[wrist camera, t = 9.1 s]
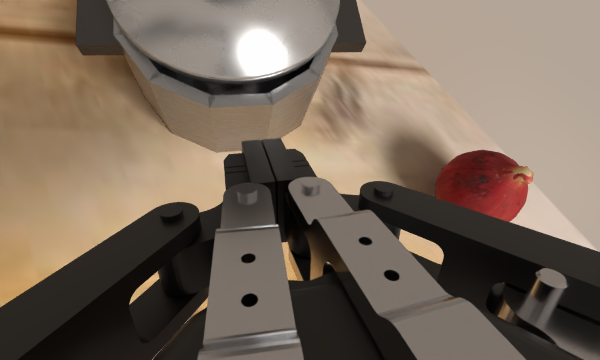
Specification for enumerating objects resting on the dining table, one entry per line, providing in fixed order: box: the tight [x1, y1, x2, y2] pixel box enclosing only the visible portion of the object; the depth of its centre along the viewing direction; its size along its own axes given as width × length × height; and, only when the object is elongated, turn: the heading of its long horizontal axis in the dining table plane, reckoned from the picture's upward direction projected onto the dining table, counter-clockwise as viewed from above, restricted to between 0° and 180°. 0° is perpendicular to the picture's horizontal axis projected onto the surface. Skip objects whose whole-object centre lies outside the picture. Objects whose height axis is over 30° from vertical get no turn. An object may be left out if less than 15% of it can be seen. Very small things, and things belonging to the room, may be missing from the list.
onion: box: [436, 150, 533, 222], centre depth 24 cm, size 6×6×8 cm
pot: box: [76, 0, 366, 152], centre depth 25 cm, size 19×14×7 cm
